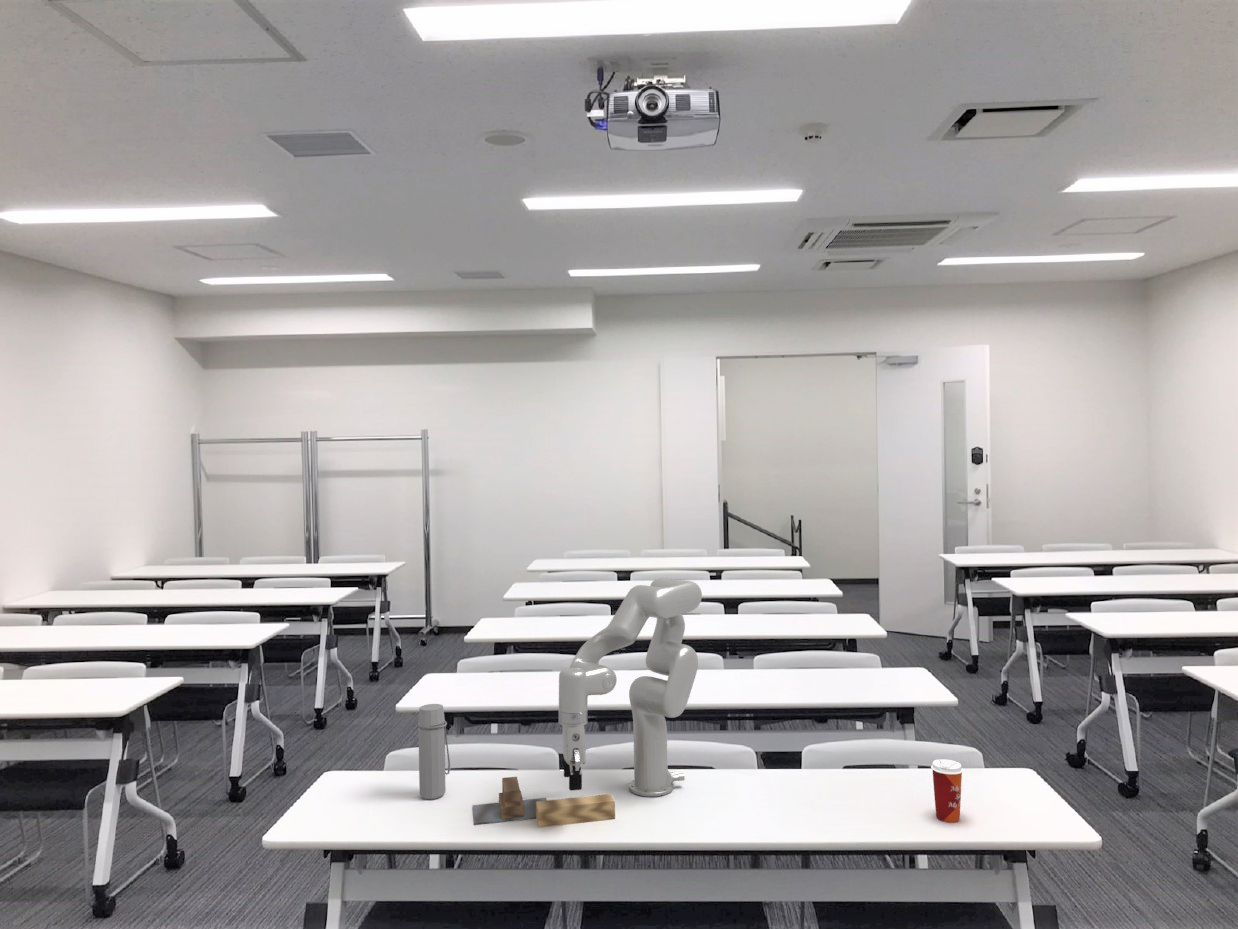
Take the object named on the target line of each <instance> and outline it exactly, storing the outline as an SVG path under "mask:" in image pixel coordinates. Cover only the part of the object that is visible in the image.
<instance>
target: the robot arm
mask: <svg viewBox="0 0 1238 929" xmlns="http://www.w3.org/2000/svg"><path fill="white" fill-rule="evenodd" d="M702 597H703V593H702V589H701V587H700V586H699V585H698V584H697V583H696V582H694V581H691V580H690V581H689V580H683V579H675V578H668V577H661V578H656V579H654V580H653V581H652V582H651V584H650V585H642V584H640V585H635V586H633V587H632V588H630V590H629V591H628V592H627V594H626V596H625V597H624V599H623V600H622V602H621V603H620V605H619V607H618V609H617V610H616V612H615V614H614V616H613V617H612V619H611V621H610V622H609V624H608V625H607V626H606V627H605V628H603V629H601V630H599V632H597V633H596V634H594V635H593V636H592V637H591V638H589V639H588V640H587V641H585V643H584V644H582V645H581V647H580V648H579V649H578V651H577V653H576V654H575V655H574V658H573V660H572V661H571V663H570V665H569V667H567V668H563V669H561V670H560V672H559V675H558V724H559V725H561V726H562V756H563V759H564V760H563V777H564V778H568V789H569V791H581V790H582V789H583V773H582V765H585V764H586V763H587V760H586V759H587V757H586V753H587V752H586V733H585V732H586V730H585V725H587V724H588V703H589V702H588V697H589V696H602V695H603V696H604V695H607V694H609V693H611V692H612V691H613V690H614V689H615V687H616V685H617V681H618V680H617V675H616V673H615V671H614V670H613V669H612V668H611V667H609V666H606V665H602V664H599V663H598V662H599V661H600V660H601V659H602V658H603V657H604V656H606V655H607V654H609V653H611V652H613V651H616V650H619V649H620V650H621V649H623V648H626V647H628V646H631V645H633V644H634V643H635V642H636V640H637V638H638V636H639V635H640V634H641V631H642V630H643V628H644V626H645V624H646V622H647V621H648V620H649V618H656V622H655V623H656V624H655V627H654V632H653V634H652V637H651V640H650V643H649V647H648V648H647V653H646V657H645V665H646V667H647V669H648V670H649V671H650V672H652V673H655V674H659V675H662V676H667V680H666V679H663V678H658V677H654V676H648V675H645V676H644V675H643V676H639V677H637V678H635V679H634V680H633V681H632V682H631V685H630V686H629V691H628V692H629V693H628V698H629V705H630V707H631V713H632V720H633V721H632V724H633V725H632V726H633V728H632V729H633V770H634V771H633V773H634V774H633V776H634V777H633V778H634V779H632V780H631V781H630V782H629V784H628V789H629V791H630V792H631V793H632V794H635V795H637V796H641V797H650V798H651V797H660V796H661V795H662V796H665V795H668V794H669V793H671V792H672V791H673V790H674V782H676V781H677V782H682V781H685V774H684V773H678V771H671V772H670V771H669V769H668V768H669V767H668V766H669V765H668V763H669V762H668V726H667V721H666V718H670V719H671V718H672V719H673V718H677V717H679V716H681V715H682V713H683V712H684V711H685V709H686V707H687V705H688V701H689V698H690V697H691V692H692V689H693V685H694V683H695V679H696V676H697V672H698V668H699V658H698V654H697V652H696V651H695V650H696V649H694V648H693V647H692V646H690V645H687V644H684V643H682V642H683V638H684V636H685V635H684V634H685V630H686V624H685V619H684V618H685V617H684V616H683V614H688V613H691V612H693V611H694V610H696V609H697V608H698V607H699V606H700V604H701V602H702V599H703V598H702ZM665 717H666V718H665Z"/></svg>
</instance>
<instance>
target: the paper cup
mask: <svg viewBox="0 0 1238 929" xmlns="http://www.w3.org/2000/svg"><path fill="white" fill-rule="evenodd" d="M930 769H931V770H932V780H933V781H932V782H933V794H934V805H935V815H936V816H935V817H936V819H938V820H939V821H941V822H944V823H951V824H952V823H958V822H960V818H961V799H962V796H961V795H962V777H963V776H962V774H963V772H964V768H963V767H962V764H961V763H960V762H958V761H956V760H953V759H946V758H945V759H944V758H943V759H940V758H939V759H934V760H933V761H932V764H931V766H930Z"/></svg>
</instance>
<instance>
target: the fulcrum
mask: <svg viewBox="0 0 1238 929" xmlns="http://www.w3.org/2000/svg"><path fill="white" fill-rule="evenodd" d="M501 782H502V784H501V788H502V791H501V792H498V802H489V803H482V804H481V803H480V804H479V803H478V804H472V813H473V814H472V815H473V822H474V826H476V825H477V826H478V825H479V826H480V825H485V824H494V823H495V824H496V823H498V824H499V823H506V822H516V821H525V820H535V819H536V802H537V801H547V800H548V799H547V797H541V798H531V799H524V798H523V794H522V791H521V789H520V785H519V784H520V783H519V779H518V776H509V777H502V780H501Z"/></svg>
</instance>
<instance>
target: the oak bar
mask: <svg viewBox="0 0 1238 929" xmlns="http://www.w3.org/2000/svg"><path fill="white" fill-rule="evenodd" d="M611 820H616V801H615V799H614V796H613V795H612V793H607V794H597V795H588V796H578V797H577V796H575V797H568V798H566V797H565V798H557V799H547V801H537V802H536V820H535V821H536V824H537V827H538V829H539V828H547V827H548V828H549V827H556V826H558V827H559V826H565V825H566V826H567V825H575V824H585V823H593V822H601V821H611Z"/></svg>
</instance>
